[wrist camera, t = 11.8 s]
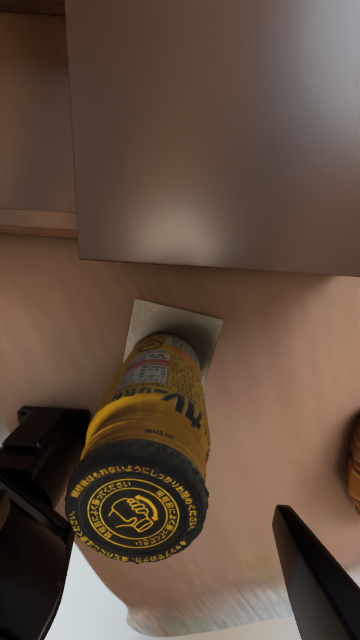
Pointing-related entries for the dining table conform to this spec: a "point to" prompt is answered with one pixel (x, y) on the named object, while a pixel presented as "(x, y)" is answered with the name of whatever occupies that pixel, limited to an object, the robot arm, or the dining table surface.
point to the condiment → (148, 442)
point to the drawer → (35, 121)
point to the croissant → (354, 467)
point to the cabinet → (217, 133)
